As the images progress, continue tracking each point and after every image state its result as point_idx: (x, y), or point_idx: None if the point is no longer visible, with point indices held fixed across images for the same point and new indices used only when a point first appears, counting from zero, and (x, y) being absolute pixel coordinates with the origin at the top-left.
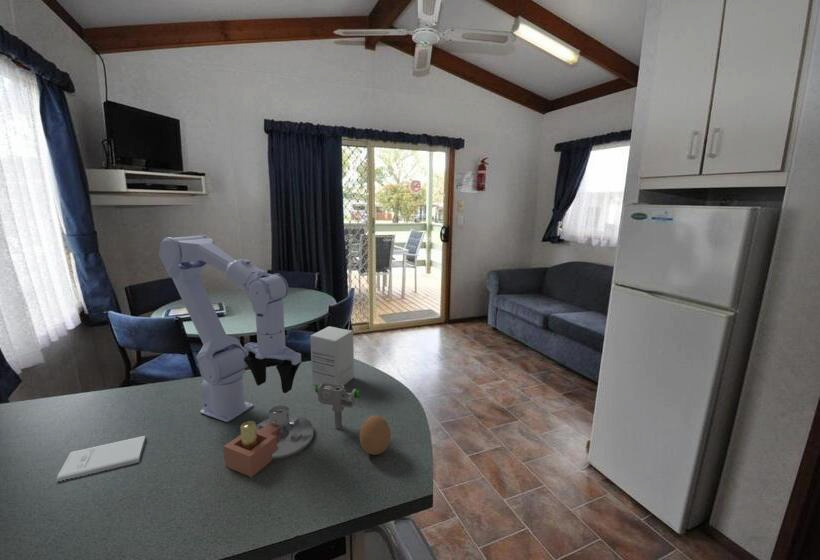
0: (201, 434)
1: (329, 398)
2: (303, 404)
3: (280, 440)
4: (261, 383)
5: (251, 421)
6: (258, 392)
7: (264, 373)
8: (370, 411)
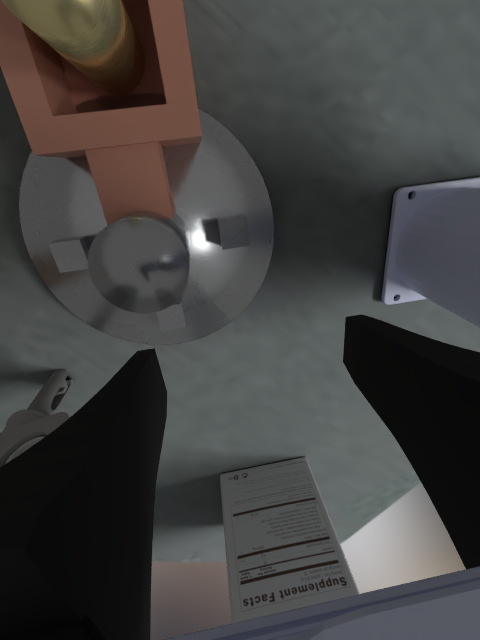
0: (432, 78)
1: (27, 448)
2: (250, 390)
3: None
4: (347, 337)
5: (76, 24)
6: None
7: (374, 395)
8: None
